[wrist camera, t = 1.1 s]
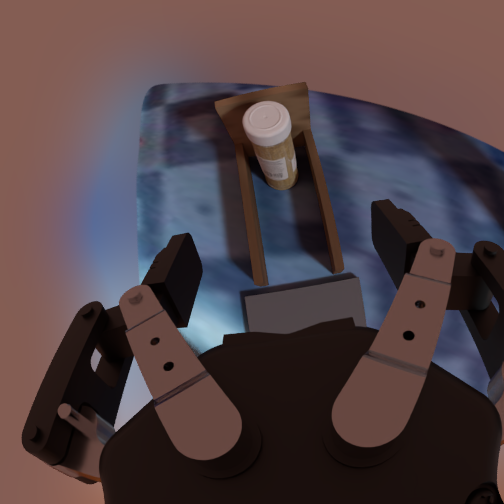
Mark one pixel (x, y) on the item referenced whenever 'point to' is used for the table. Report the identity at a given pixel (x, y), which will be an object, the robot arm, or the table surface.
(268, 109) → the sprinkles bottle
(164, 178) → the table surface
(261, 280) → the shelf lane
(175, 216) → the table surface
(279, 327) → the rubber mat
